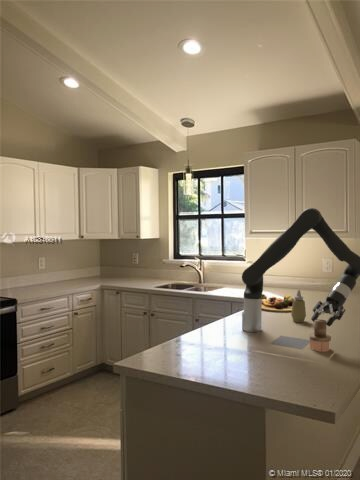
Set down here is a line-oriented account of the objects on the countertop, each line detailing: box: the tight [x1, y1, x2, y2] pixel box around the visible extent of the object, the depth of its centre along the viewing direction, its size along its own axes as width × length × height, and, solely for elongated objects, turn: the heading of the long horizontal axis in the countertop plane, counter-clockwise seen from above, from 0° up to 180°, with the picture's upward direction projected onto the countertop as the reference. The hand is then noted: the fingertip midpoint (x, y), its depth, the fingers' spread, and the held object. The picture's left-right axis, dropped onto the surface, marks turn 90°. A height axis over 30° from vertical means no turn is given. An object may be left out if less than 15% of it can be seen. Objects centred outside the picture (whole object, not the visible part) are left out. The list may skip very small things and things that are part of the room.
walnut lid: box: [309, 319, 332, 342], centre depth 179 cm, size 9×9×8 cm
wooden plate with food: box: [262, 293, 295, 313], centre depth 269 cm, size 32×32×8 cm
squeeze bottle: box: [290, 289, 307, 323], centre depth 230 cm, size 8×8×18 cm
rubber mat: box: [269, 335, 310, 350], centre depth 189 cm, size 15×16×1 cm
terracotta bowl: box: [309, 338, 331, 353], centre depth 179 cm, size 8×8×5 cm
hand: (320, 323), depth 178 cm, fingers open, 8 cm apart
